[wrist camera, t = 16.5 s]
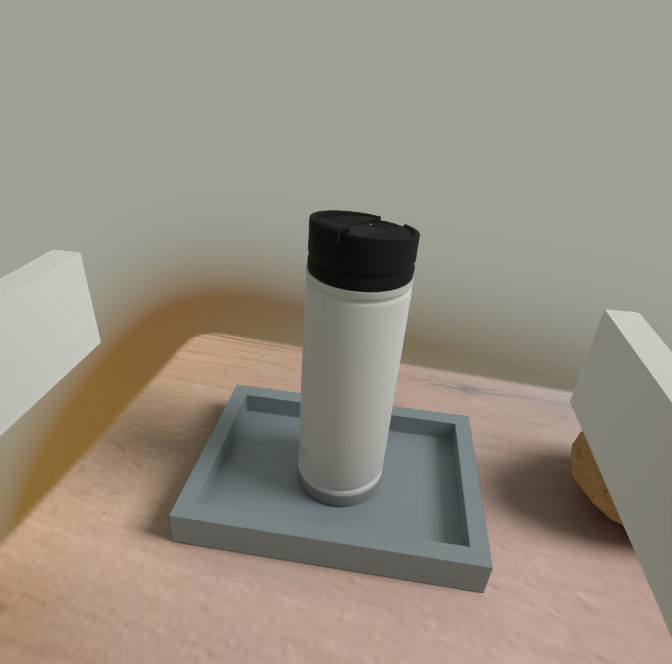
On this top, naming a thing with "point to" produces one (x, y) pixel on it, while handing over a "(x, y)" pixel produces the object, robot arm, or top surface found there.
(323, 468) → the travel mug
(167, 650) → the top surface
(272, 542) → the tray
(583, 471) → the potato
